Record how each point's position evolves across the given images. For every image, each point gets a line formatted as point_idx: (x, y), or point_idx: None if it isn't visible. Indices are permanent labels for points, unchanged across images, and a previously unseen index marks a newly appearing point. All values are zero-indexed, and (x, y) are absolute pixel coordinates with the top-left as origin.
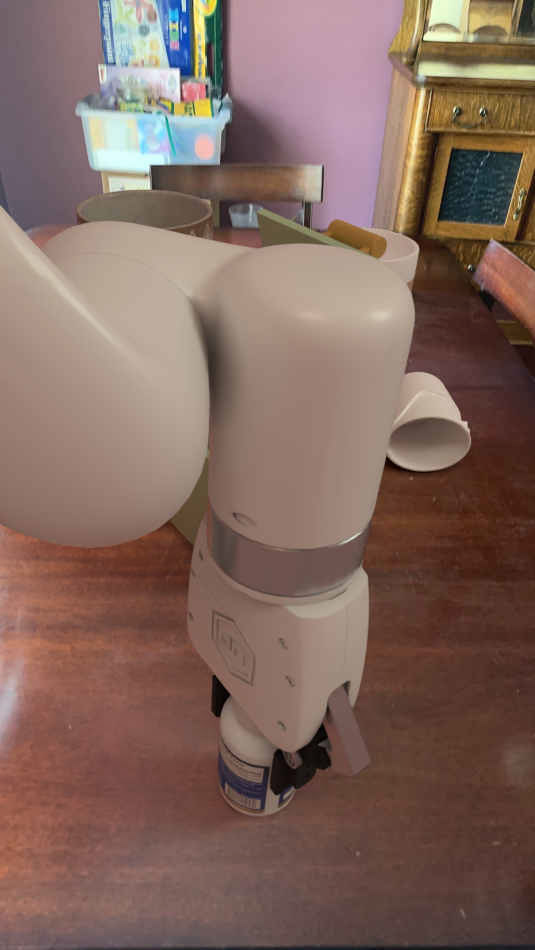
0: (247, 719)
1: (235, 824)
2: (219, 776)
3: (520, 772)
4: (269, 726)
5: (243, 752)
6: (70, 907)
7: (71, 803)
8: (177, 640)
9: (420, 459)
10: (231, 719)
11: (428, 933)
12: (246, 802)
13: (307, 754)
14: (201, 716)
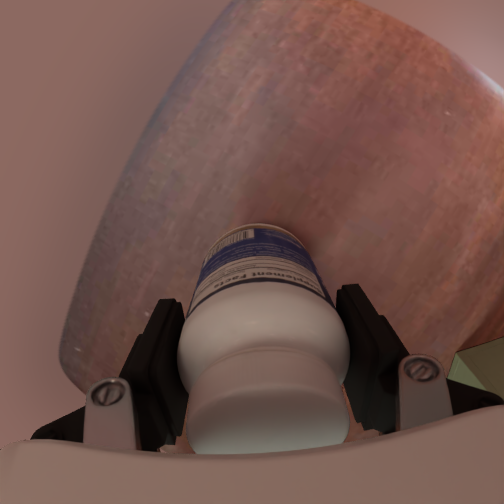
0: (232, 382)
1: (237, 219)
2: (275, 233)
3: None
4: (28, 494)
5: (216, 308)
6: (255, 20)
7: (366, 66)
8: (465, 272)
9: None
10: (292, 327)
11: (71, 319)
12: (217, 248)
13: (78, 430)
14: (379, 250)
